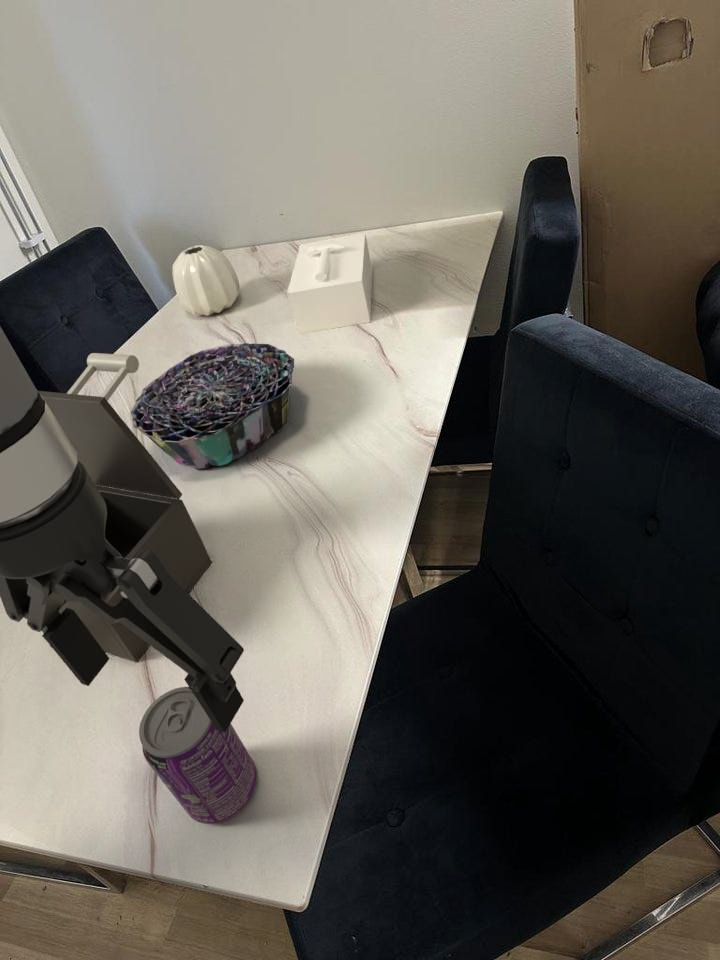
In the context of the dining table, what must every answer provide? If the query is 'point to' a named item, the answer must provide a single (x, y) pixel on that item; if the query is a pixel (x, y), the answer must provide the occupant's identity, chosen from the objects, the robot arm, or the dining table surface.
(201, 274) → the vase
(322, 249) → the white embossed block
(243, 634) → the dining table surface
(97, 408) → the lid
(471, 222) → the dining table surface
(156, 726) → the beverage can
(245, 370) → the decorative bowl
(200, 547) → the dark open box
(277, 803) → the dining table surface
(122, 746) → the dining table surface
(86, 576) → the robot arm
